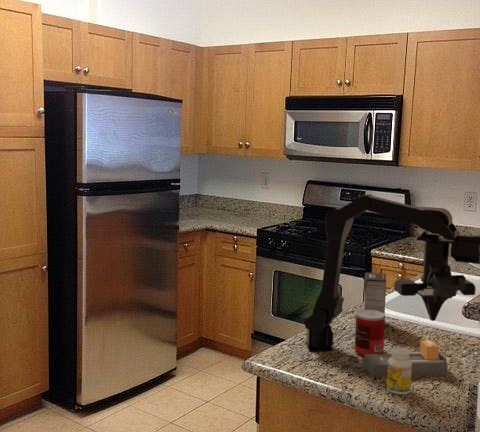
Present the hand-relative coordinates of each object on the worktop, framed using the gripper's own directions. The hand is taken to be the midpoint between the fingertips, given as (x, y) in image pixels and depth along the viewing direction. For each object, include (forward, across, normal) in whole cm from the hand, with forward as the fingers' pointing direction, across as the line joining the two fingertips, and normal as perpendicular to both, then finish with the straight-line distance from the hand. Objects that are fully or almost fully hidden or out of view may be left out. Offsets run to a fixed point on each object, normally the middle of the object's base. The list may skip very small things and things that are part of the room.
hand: (432, 320), depth 142 cm
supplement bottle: (+13, -12, -11) cm, 21 cm away
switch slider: (+10, 0, 0) cm, 10 cm away
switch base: (+13, -6, 0) cm, 15 cm away
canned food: (+13, -12, +12) cm, 21 cm away
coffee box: (+13, -4, +34) cm, 36 cm away
